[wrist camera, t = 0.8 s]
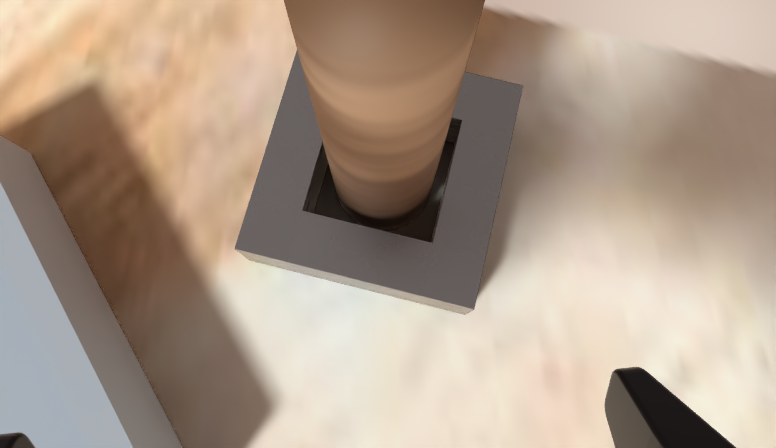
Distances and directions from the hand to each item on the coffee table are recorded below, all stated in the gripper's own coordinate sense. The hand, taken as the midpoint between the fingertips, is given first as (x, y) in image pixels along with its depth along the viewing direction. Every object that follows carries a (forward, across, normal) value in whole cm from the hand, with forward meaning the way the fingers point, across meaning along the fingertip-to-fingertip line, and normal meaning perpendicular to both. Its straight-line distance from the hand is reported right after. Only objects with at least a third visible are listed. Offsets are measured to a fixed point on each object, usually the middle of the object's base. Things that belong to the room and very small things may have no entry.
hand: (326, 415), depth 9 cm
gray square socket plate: (+16, -2, +6) cm, 17 cm away
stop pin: (+16, -2, +6) cm, 17 cm away
